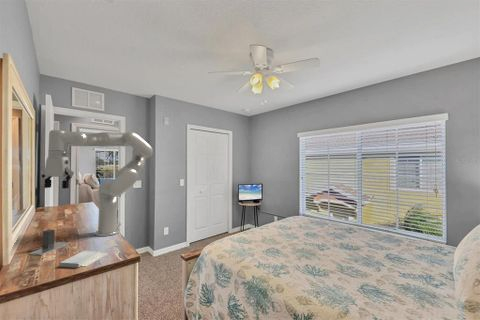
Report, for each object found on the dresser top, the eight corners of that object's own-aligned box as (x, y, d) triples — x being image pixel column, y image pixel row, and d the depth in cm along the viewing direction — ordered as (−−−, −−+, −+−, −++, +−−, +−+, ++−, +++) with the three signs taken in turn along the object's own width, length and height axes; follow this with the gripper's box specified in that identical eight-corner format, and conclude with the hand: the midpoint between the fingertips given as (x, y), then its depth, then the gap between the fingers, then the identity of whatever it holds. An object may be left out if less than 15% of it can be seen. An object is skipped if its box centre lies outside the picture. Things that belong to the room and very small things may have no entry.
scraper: (29, 255, 97) (30, 234, 97) (58, 243, 111) (59, 226, 111) (42, 255, 97) (43, 235, 97) (69, 244, 111) (70, 226, 111)
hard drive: (78, 263, 86) (100, 251, 98) (58, 262, 86) (83, 250, 98) (78, 267, 85) (100, 254, 98) (58, 266, 86) (82, 254, 98)
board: (85, 252, 101) (86, 251, 101) (108, 253, 100) (108, 253, 100) (60, 265, 88) (60, 264, 88) (86, 266, 87) (86, 266, 87)
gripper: (79, 155, 114) (78, 187, 114) (49, 154, 116) (47, 186, 115) (67, 154, 107) (65, 189, 106) (34, 153, 108) (33, 188, 108)
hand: (56, 187), depth 111 cm, fingers open, 9 cm apart
